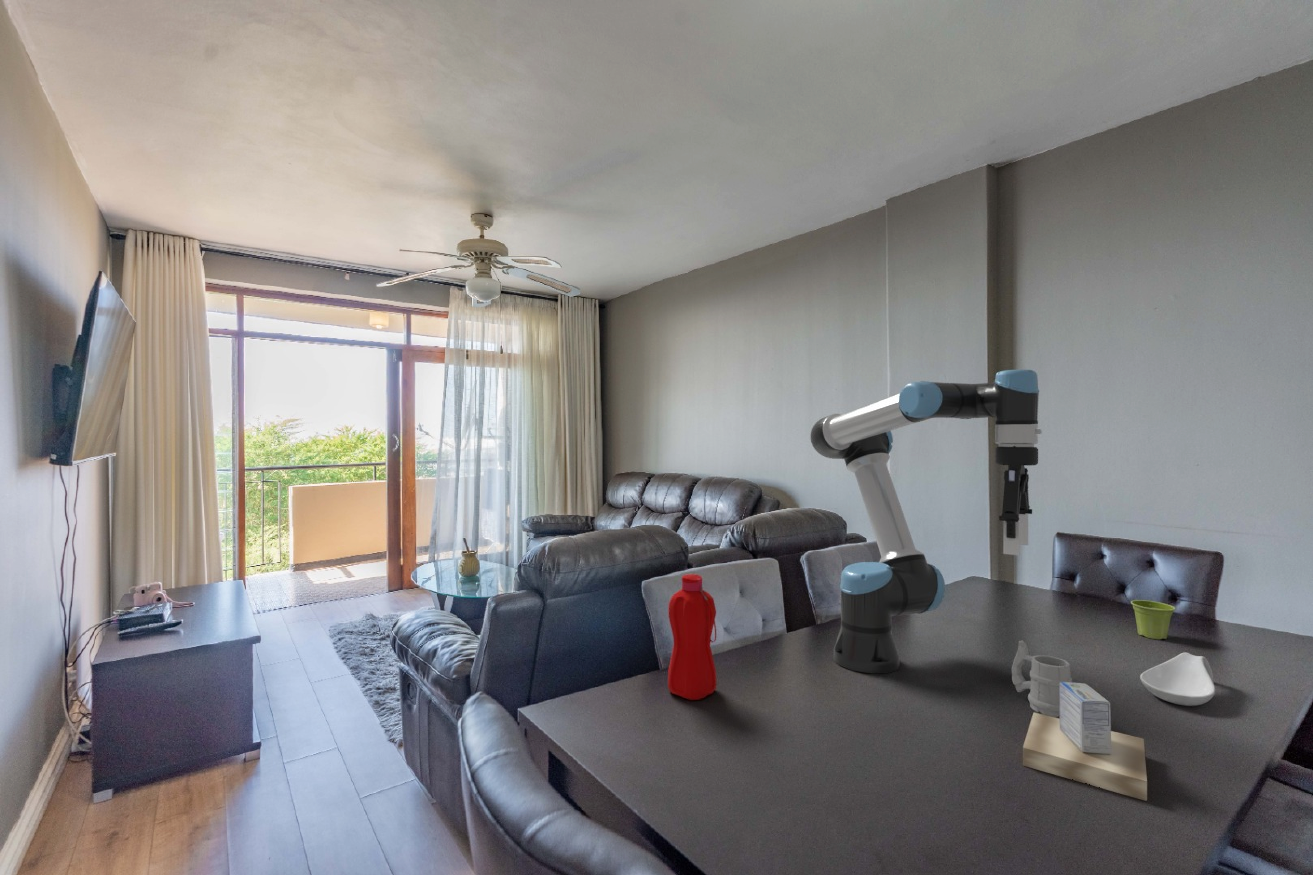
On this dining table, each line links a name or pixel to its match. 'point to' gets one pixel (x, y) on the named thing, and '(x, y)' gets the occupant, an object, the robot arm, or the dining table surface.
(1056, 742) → the birch stand
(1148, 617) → the plant pot
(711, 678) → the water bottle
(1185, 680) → the spoon rest
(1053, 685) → the mug
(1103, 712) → the medicine box
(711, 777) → the dining table surface
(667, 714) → the dining table surface
